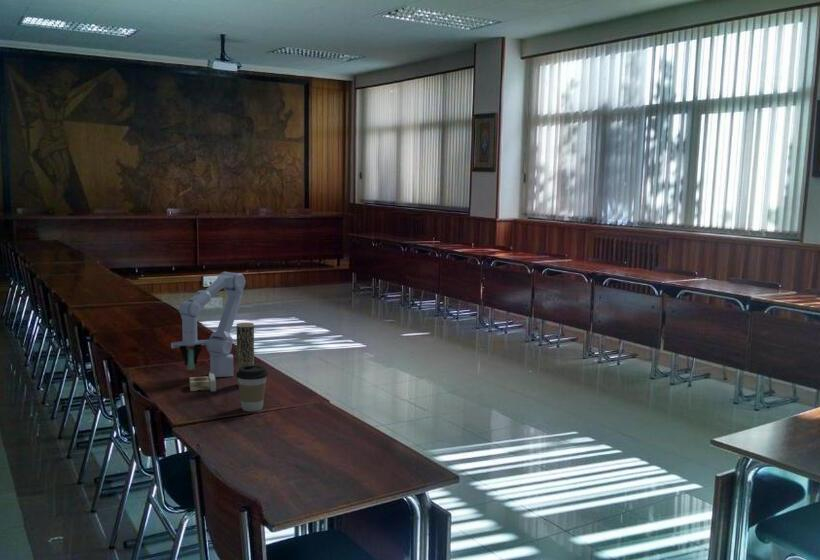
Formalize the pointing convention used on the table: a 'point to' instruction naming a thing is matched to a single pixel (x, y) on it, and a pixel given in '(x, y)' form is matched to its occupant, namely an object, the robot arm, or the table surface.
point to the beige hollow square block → (199, 383)
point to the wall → (212, 382)
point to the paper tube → (245, 345)
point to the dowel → (190, 359)
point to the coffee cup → (252, 387)
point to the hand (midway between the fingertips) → (190, 363)
